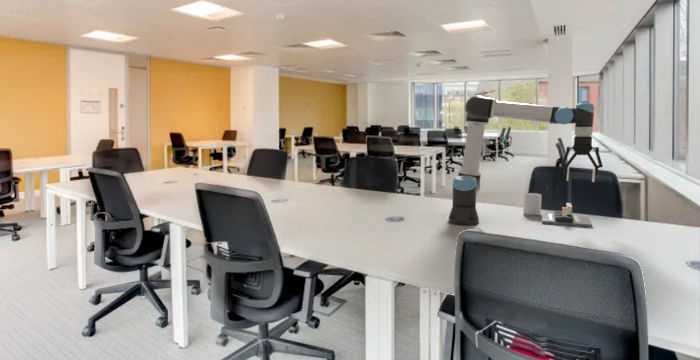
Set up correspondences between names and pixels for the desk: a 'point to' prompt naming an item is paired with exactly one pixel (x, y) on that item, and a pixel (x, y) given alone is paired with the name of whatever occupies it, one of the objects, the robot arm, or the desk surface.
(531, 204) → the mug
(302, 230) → the desk surface
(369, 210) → the desk surface
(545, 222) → the panel
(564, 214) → the block
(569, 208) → the block
